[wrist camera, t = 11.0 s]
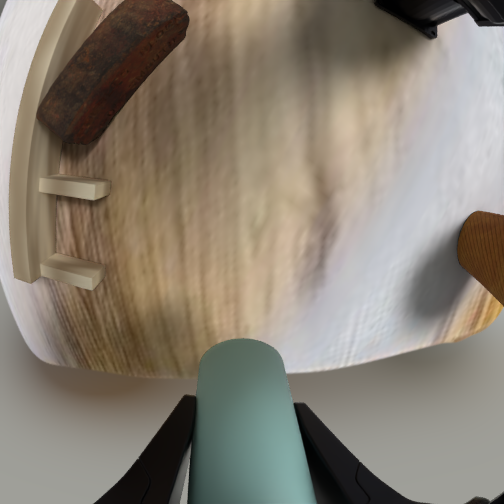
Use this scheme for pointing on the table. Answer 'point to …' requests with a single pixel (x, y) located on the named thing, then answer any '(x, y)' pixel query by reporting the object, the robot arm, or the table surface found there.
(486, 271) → the disposable coffee cup
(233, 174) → the table surface
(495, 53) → the table surface
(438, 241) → the table surface
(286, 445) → the dowel
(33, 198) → the backstop fence
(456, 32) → the table surface
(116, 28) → the brick
